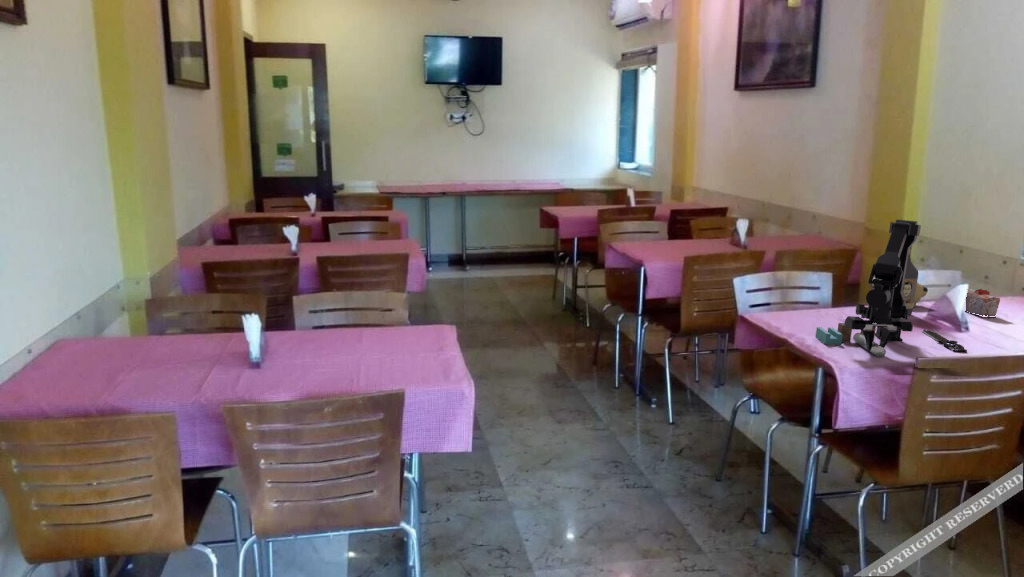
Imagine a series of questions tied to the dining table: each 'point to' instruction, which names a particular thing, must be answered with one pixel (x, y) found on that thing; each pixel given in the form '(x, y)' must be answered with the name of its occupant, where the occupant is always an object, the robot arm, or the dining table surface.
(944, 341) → the knife
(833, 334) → the cradle
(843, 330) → the wooden bridge block
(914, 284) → the liquor
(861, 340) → the axle
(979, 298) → the food item
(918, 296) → the tan rounded piece
